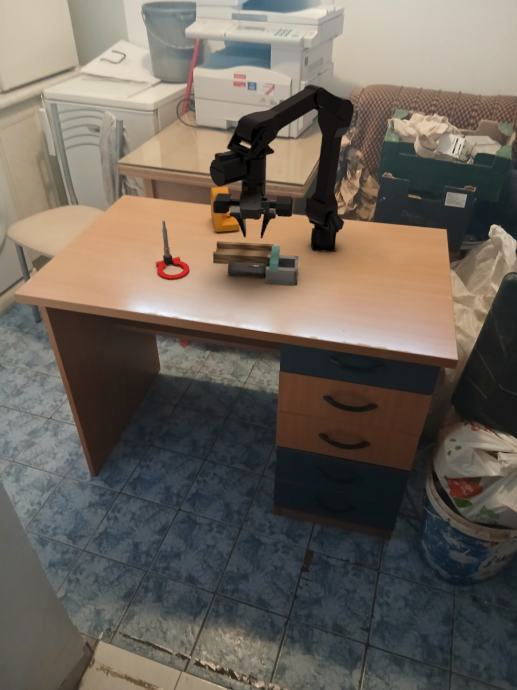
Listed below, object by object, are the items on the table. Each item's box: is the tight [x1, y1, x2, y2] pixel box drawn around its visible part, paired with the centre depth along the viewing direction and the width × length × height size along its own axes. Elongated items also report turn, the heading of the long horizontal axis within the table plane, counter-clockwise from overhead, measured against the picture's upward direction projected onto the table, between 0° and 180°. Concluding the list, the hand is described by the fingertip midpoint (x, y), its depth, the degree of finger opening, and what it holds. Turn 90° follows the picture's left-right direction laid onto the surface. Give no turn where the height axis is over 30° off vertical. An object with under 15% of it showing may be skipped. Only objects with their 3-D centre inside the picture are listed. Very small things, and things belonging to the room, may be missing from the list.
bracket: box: [210, 186, 240, 233], centre depth 152 cm, size 11×7×12 cm, turn 11°
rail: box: [212, 240, 275, 265], centre depth 140 cm, size 16×8×3 cm, turn 85°
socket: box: [264, 254, 299, 286], centre depth 132 cm, size 8×8×4 cm
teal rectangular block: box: [270, 245, 281, 271], centre depth 130 cm, size 2×9×2 cm, turn 175°
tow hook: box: [155, 220, 190, 281], centre depth 131 cm, size 8×13×9 cm
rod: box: [227, 262, 283, 279], centre depth 133 cm, size 14×4×4 cm, turn 85°
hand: (253, 237), depth 127 cm, fingers open, 4 cm apart
